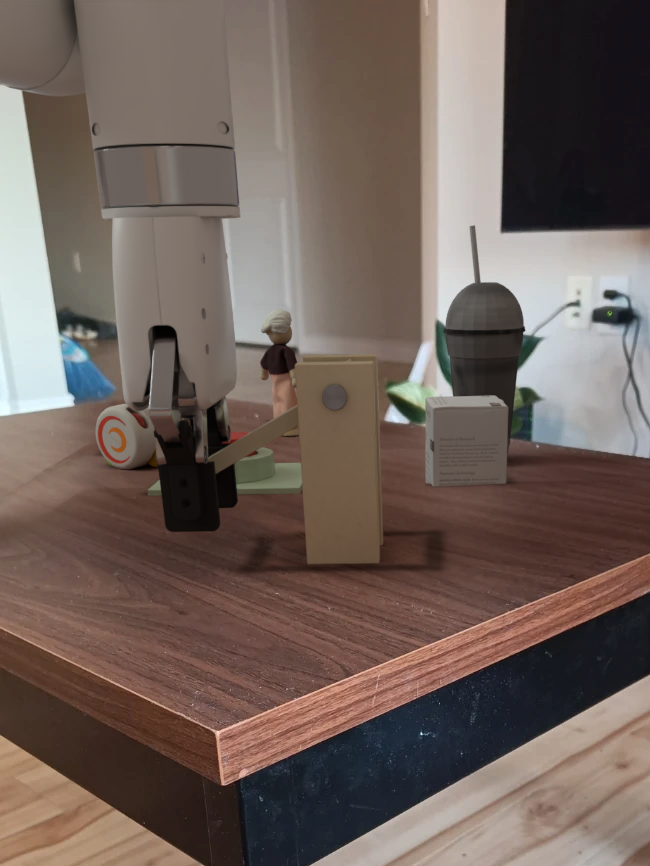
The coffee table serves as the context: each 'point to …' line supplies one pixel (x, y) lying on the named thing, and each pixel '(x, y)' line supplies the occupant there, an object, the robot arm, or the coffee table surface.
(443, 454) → the product carton
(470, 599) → the coffee table surface
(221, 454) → the lever
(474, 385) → the beverage cup
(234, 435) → the button
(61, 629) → the coffee table surface
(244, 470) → the button block
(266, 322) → the grandmother figurine
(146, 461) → the roller toy
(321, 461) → the lever bracket
